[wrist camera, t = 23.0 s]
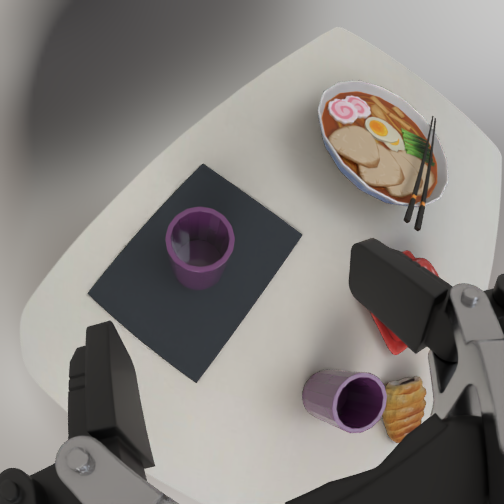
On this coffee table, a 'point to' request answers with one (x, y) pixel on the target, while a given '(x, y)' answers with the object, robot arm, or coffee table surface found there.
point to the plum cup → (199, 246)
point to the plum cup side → (345, 399)
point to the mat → (185, 299)
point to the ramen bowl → (383, 145)
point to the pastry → (403, 407)
